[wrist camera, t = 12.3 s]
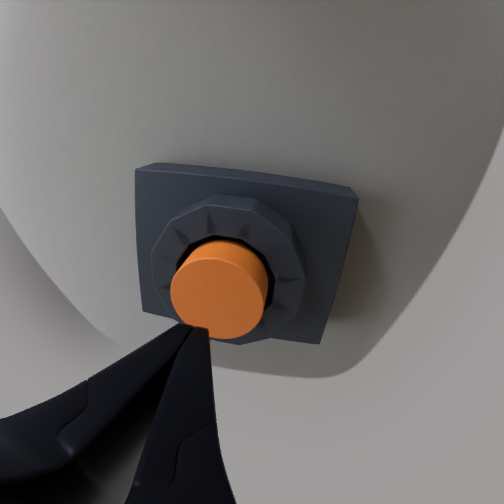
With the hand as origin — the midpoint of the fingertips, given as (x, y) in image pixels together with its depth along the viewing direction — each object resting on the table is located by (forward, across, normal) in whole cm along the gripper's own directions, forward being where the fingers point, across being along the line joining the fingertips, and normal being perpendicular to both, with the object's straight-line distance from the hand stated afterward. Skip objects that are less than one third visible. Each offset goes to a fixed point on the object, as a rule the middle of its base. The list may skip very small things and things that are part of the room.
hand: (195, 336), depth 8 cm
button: (+4, 0, +1) cm, 5 cm away
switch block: (+8, 0, +1) cm, 8 cm away
